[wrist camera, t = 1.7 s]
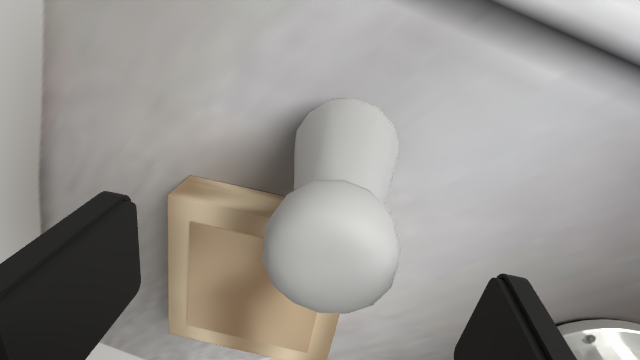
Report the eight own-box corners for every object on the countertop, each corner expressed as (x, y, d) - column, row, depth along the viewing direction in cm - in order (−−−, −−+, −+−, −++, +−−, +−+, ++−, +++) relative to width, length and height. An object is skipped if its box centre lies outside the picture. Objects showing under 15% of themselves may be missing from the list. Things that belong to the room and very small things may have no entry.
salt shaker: (357, 196, 24) (347, 374, 12) (284, 147, 23) (196, 286, 11) (416, 126, 21) (476, 262, 9) (336, 69, 20) (295, 140, 9)
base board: (361, 213, 24) (360, 239, 21) (328, 337, 29) (323, 371, 26) (189, 175, 24) (166, 196, 22) (186, 304, 30) (167, 335, 27)
